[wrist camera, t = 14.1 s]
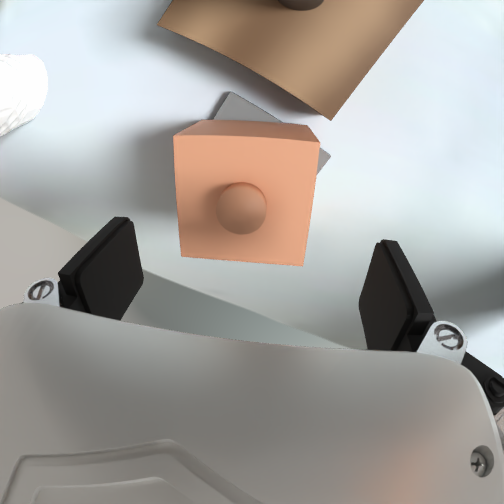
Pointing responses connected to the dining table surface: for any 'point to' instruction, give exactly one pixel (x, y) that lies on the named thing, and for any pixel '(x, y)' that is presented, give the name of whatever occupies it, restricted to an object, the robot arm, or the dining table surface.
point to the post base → (297, 40)
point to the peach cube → (245, 190)
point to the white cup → (20, 90)
